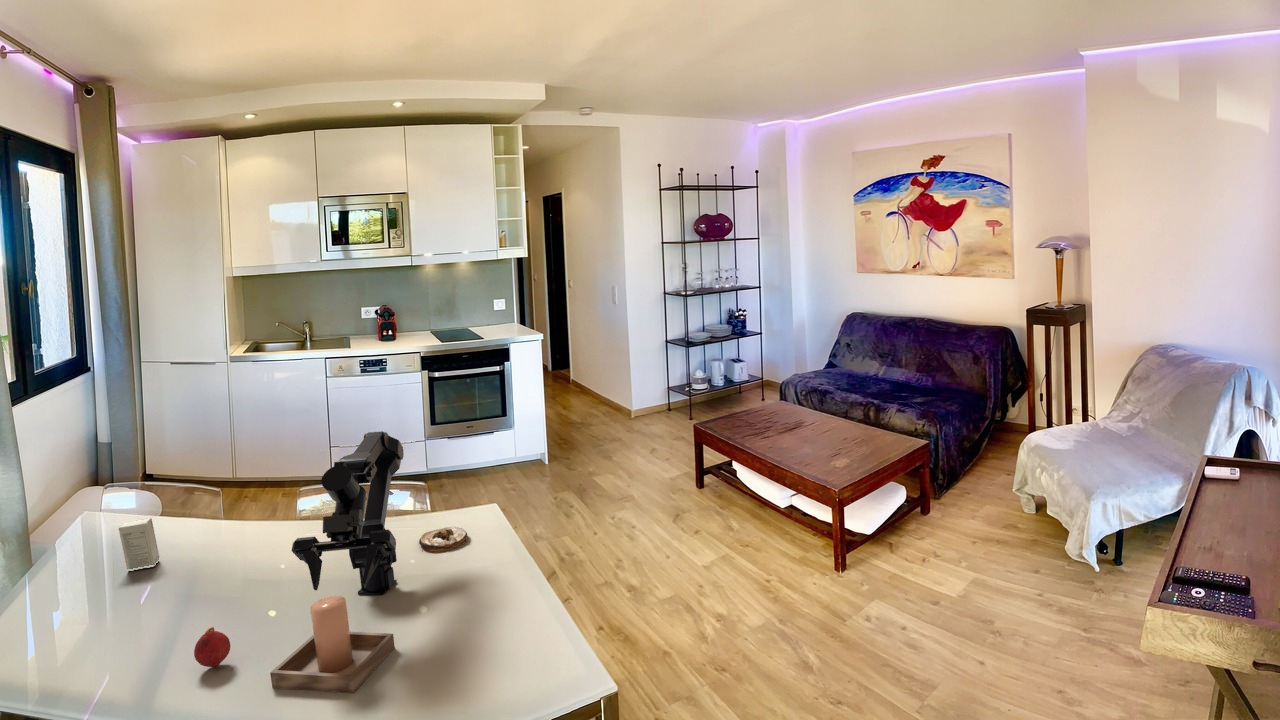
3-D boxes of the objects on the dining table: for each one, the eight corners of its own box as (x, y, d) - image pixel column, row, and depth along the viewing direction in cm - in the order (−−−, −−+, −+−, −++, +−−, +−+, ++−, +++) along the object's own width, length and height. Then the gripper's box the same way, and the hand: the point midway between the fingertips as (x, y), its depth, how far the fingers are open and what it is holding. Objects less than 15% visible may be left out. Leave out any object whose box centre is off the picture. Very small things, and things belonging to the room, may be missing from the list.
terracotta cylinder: (312, 665, 128) (305, 605, 127) (344, 651, 133) (337, 592, 131) (326, 677, 124) (318, 615, 123) (358, 662, 129) (351, 602, 127)
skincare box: (160, 561, 181) (153, 517, 179) (155, 568, 177) (147, 523, 175) (132, 565, 179) (124, 521, 177) (125, 572, 175) (117, 527, 173)
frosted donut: (414, 538, 189) (412, 524, 188) (469, 529, 193) (468, 515, 193) (414, 560, 175) (413, 544, 174) (474, 549, 180) (473, 534, 179)
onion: (215, 677, 127) (209, 637, 126) (189, 675, 128) (183, 635, 127) (239, 659, 133) (234, 620, 132) (214, 657, 134) (208, 619, 133)
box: (272, 688, 123) (270, 672, 123) (320, 644, 137) (318, 630, 136) (353, 693, 120) (352, 677, 120) (394, 647, 134) (393, 633, 134)
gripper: (288, 500, 135) (274, 578, 126) (386, 491, 138) (379, 567, 129) (307, 522, 144) (295, 597, 135) (399, 514, 147) (393, 587, 137)
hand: (340, 587), depth 134 cm, fingers open, 9 cm apart
